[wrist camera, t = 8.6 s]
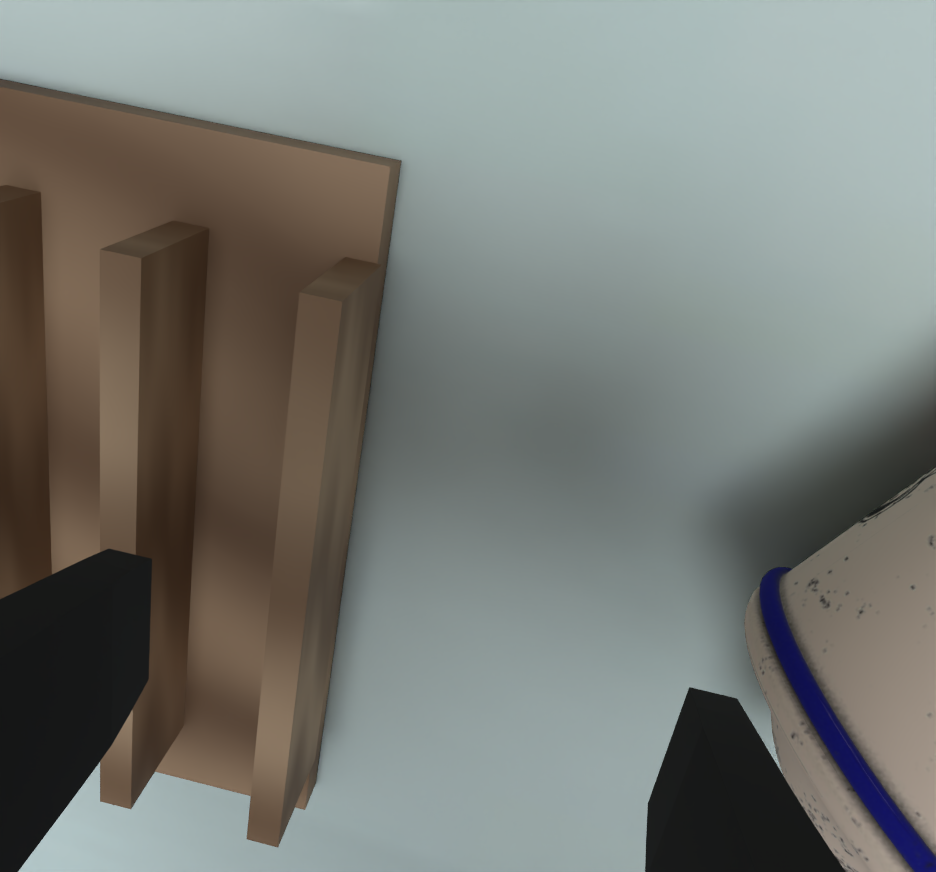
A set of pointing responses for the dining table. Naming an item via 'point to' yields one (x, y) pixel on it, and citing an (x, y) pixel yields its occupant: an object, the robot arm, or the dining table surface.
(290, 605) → the walnut rack
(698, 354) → the dining table surface
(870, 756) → the beige mug
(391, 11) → the dining table surface
